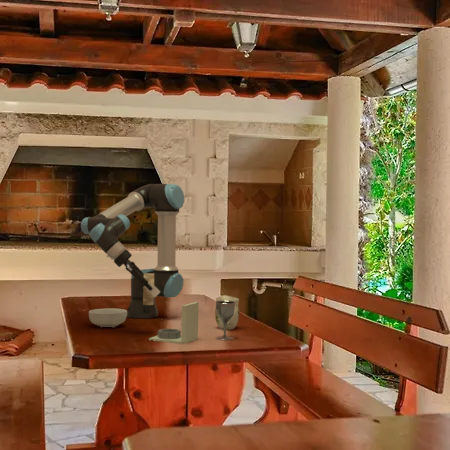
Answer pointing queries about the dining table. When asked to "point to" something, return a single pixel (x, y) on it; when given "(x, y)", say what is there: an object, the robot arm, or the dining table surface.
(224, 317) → the wine glass
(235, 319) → the pitcher
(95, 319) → the cereal bowl
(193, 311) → the bracket
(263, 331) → the dining table surface
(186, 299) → the dining table surface
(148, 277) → the beige mottled cylinder
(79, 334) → the dining table surface
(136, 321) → the dining table surface
